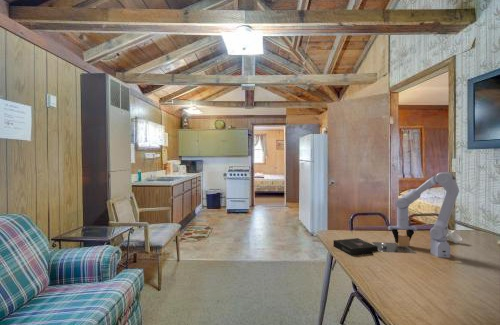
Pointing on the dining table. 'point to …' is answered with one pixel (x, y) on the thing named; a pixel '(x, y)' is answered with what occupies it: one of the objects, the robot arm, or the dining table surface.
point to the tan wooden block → (403, 240)
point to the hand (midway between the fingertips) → (402, 242)
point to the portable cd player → (355, 246)
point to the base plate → (392, 247)
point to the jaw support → (453, 236)
